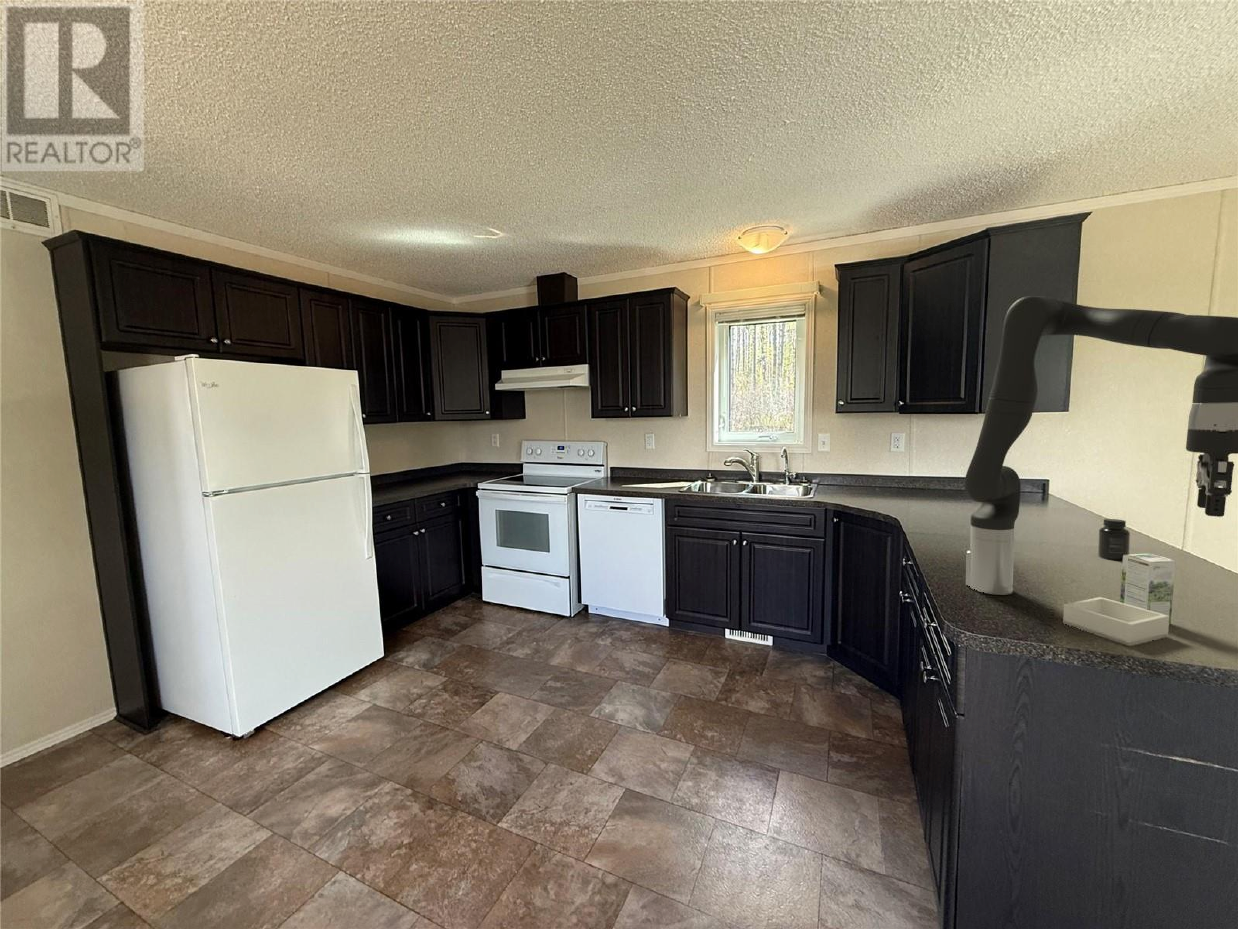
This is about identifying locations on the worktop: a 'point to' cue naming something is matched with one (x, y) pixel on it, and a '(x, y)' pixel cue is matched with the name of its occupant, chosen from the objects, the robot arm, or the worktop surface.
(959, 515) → the worktop surface
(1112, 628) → the bin
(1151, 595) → the syrup box
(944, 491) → the worktop surface
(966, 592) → the worktop surface
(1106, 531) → the supplement bottle
